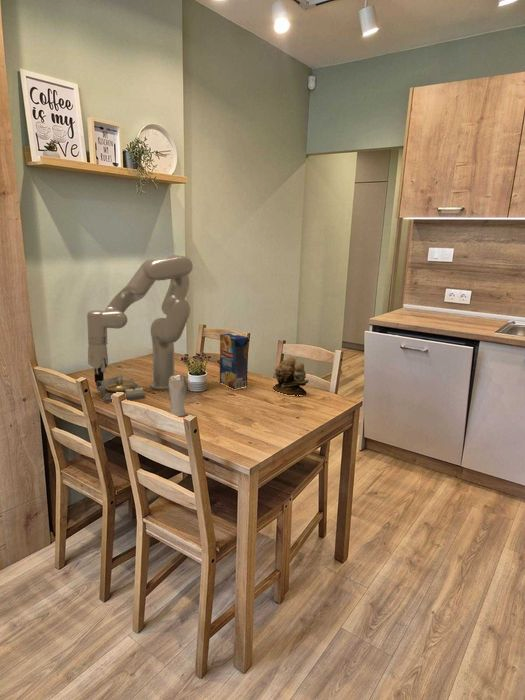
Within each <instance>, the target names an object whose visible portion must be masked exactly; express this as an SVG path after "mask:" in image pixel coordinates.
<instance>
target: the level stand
mask: <svg viewBox="0 0 525 700" xmlns="http://www.w3.org/2000/svg"><path fill="white" fill-rule="evenodd" d="M128 380H130V381H132V382H133V383H134V388H133V389H127V390H125V392H124V393H125V394H126V399H127V401H132V400H139V399H145V398H146V396H145V393H144V388H143V387H139V386H138V385H137V384H136V382H135V381H134V379H133V378H128ZM96 389H97V390H98V392H99V391H100V392H99V394H100V393H101V394H100V395H102V396H101V397H103V398H104V400H105V401H104V400H103V401H104V403H105V402H112V399H111V395H112V394H113V393H114V392H108V391H106V390H105V386H103V387H96ZM103 398H102V399H103ZM112 403H113V402H112Z"/></svg>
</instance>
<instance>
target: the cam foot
mask: <svg viewBox="0 0 525 700" xmlns="http://www.w3.org/2000/svg"><path fill="white" fill-rule="evenodd" d="M95 386H97V387H103V386H105V390H106V391H108V392H114V393H116V392H125V390H127V389H133V388H134V383H133V382H132V381H130V380H129V379H124V376H123V374H116V375H115V376H111V377H106V378H104V379H103V380H99V381H97V383H95ZM97 387H96V388H97Z"/></svg>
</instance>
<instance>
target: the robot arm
mask: <svg viewBox="0 0 525 700" xmlns="http://www.w3.org/2000/svg"><path fill="white" fill-rule="evenodd" d="M192 271H193V262H192V261H191V259H190V257H188V256H184V255H178V254H172V255H169V256H168V257H167V258H165V259H153V258H150V259H146V260H144V261H143V263H142V264H141V265H140V266H139V268H138V269H137V271H136V272H135V273H134V275H133V276H132V278H131V279H130V280H129V282H128V283H127V284H126V285H125V286H124V287H123V288H122V289H121V290H120V291H119V292H118V293H117V294H116V295H115V296H113V298H112V300H111V301H110V302H109V304H108V305H107V306H106V308H105V310H101V309H100V310H98V309H96V310H89V311H88V312H87V314H86V322H87V323H86V325H87V344H88V346H87V364H88V366H90V367H92V368H93V373H94V383H95V384H96V383H97V381H99V380H103V379H105V378H104V373H105V372H106V368H108V366H109V356H108V346H107V345H108V329H117V330H118V329H122V328H124V327H125V326H126V325H127V323H128V316H127V315H126V313H125V312H126V311H127V310H128V308H129V307H130V306H131V305H133V304H135V303H136V302H138V301H141V300H142V299H143V298H144V297H145V296H146V295H147V293H148V292H149V291H150V289H151V288H152V287H153V285H155V282H156V281H167V280H169V285H168V289H167V291H166V294H165V296H164V299H163V301H162V303H161V311H162V313H163V315H165V317H158V318H156V319H155V320H153V321H152V323H151V326H150V337H151V343H152V376H153V377H152V378H153V379H152V380H153V381H151V382H150V383H149V387H150V388H151V389H154V390H159V391H160V390H161V391H164V390H165V391H168V380H169V377H170V376H173V375H175V344H174V343H177V342H178V341H179V339H181V336H182V335H183V331H184V329H185V327H186V324H187V322H188V319H189V317H190V313H191V305H190V304H189V302H188V301H187V300H186V297H187V294H188V291H189V290H190V289H189V288H190V277H189V275H190V274H191V272H192Z"/></svg>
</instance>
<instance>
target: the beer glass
mask: <svg viewBox="0 0 525 700" xmlns="http://www.w3.org/2000/svg"><path fill="white" fill-rule="evenodd" d="M187 387H188V385H187V377H186V375H181V374H174V375H173V376H170V377H169V380H168V390H167V392H168V398H169V404H170V412H169V414H170V413H172V414H174V415H176V416H181V417H180V418H183V417H184V416H185V415H186V409H185V408H186V407H185V406H186V405H185V404H186V396H187Z"/></svg>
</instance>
